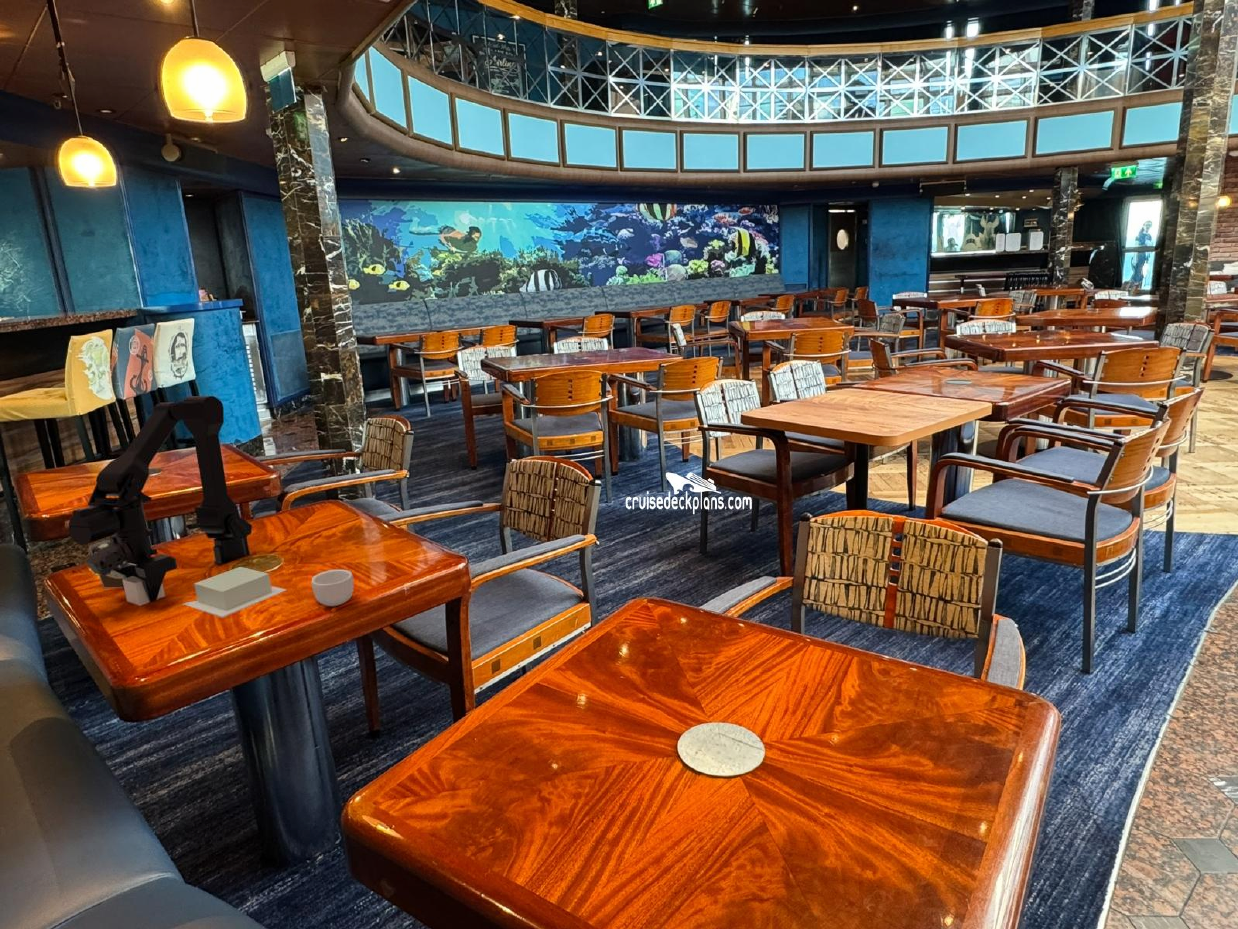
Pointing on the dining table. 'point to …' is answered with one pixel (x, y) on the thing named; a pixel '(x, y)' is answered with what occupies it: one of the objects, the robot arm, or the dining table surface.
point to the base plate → (225, 613)
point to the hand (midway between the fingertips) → (146, 599)
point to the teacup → (333, 587)
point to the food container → (113, 577)
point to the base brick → (233, 588)
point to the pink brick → (138, 591)
